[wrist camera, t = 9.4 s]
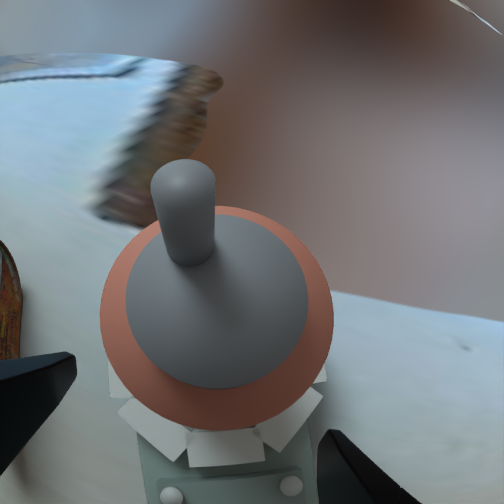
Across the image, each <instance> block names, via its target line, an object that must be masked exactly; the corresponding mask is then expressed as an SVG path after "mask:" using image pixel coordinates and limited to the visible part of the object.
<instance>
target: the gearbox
mask: <svg viewBox="0 0 504 504" xmlns="http://www.w3.org/2000/svg"><path fill="white" fill-rule="evenodd" d="M108 370H109V390H110V398H130V399H129V400H128V401H127V402H126V403H125V404H124V405H123V406H122V407H121V409H120V410H119V411H118V412H117V413H118V414H119V415H120V416H121V417H122V418H123V419H124V420H125V421H126V422H127V423H128V424H129V425H130V426H132V427H133V428H134V429H135V430H136V431H137V437H138V445H139V453H140V460H141V467H142V473H143V480H144V486H145V491H146V497H147V502H148V504H318V500H317V491H316V482H315V473H314V464H313V456H312V448H311V440H310V432H309V424H308V417H309V415H310V414H311V413H312V411H313V410H314V409H315V407H316V406H317V405H318V403H319V402H320V400H321V399H322V398H323V395H321V394H320V393H318V392H317V391H316V390H314V389H313V388H311V387H309V389H308V390H307V391H306V392H305V394H304V395H303V396H302V397H300V398H299V399H298V400H297V401H296V402H295V403H294V404H293V405H292V406H290V407H289V408H287V409H286V410H284V411H283V412H281V413H280V414H278V415H277V416H275V417H272V418H270V419H268V420H266V421H264V422H262V423H259V424H256V425H253V426H249V427H246V428H240V429H234V430H219V431H212V430H203V429H195V428H191V427H187V426H184V425H180V424H177V423H175V422H172V421H170V420H168V419H165V418H163V417H161V416H160V415H158V414H156V413H155V412H153V411H151V410H150V409H148V408H147V407H146V406H145V405H143V404H142V403H141V402H140V401H138V400H137V399H136V398H135V397H134V396H133V395H132V394H131V393H130V392H129V391H128V389H127V388H126V387H125V386H124V385H123V383H122V382H121V380H120V379H119V377H118V376H117V375H116V373H115V371H114V369H113V367H112V365H111V363H110V361H109V359H108ZM325 381H327V377H326V370H325V364H324V365H323V367H322V369H321V371H320V373H319V374H318V376H317V378H316V379H315V381H314V383H319V382H325Z"/></svg>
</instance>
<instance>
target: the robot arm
mask: <svg viewBox="0 0 504 504" xmlns="http://www.w3.org/2000/svg"><path fill="white" fill-rule="evenodd" d="M76 376H77V366H76V358H75V356H74V355H73V354H71V353H68V352H58V353H52V354H45V355H38V356H31V357H24V358H17V359H9V360H1V361H0V475H2V474H3V472H4V471H5V470H6V468H7V467H8V466H9V465H10V463H11V462H12V461H13V460H14V458H15V457H16V456H17V455H18V453H19V452H20V451H21V450H22V448H23V447H24V446H25V445H26V443H27V442H28V441H29V440H30V438H31V437H32V436H33V435H34V434H35V432H36V431H37V430H38V429H39V428H40V426H41V425H42V424H43V423H44V422H45V420H46V419H47V418H48V417H49V416H50V414H51V413H52V412H53V411H54V410H55V408H56V407H57V406H58V405H59V403H60V402H61V400H62V399H63V397H64V396H65V394H66V393H67V391H68V389H69V388H70V386H71V385H72V383H73V382H74V380H75V379H76ZM317 489H318V498H319V504H422V503H420V502H419V501H418V500H416V499H415V498H414V497H413V496H411V495H410V494H409V493H408V492H407V491H406V490H404V489H403V488H400V486H399V485H398V484H397V483H396V482H395V481H394V480H393V479H391V478H390V477H389V476H388V475H387V474H386V473H385V472H384V471H383V470H381V469H380V468H379V467H378V466H377V465H376V464H375V463H374V462H373V461H372V460H371V459H370V458H368V457H367V456H366V455H365V454H364V453H363V452H362V451H361V450H360V449H359V448H358V447H357V446H356V445H355V444H354V443H352V442H351V441H350V440H349V439H348V438H347V437H346V436H345V435H344V434H343V433H342V432H341V431H340V430H335V429H329V430H327V432H326V433H325V435H324V436H323V438H322V439H321V441H320V443H319V445H318V453H317Z"/></svg>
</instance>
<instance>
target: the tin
mask: <svg viewBox="0 0 504 504" xmlns="http://www.w3.org/2000/svg"><path fill="white" fill-rule="evenodd" d="M21 310H22V293H21V284H20V278H19V274H18V270H17V267H16V264H15V262H14V259H13V257H12V255H11V253H10V252H9V250H8V248H7V247H6V246H5V244H4V243H3V242H2V241H1V240H0V361H1V360H9V359H17V358H19V339H20V322H21Z"/></svg>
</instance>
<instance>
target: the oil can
mask: <svg viewBox="0 0 504 504" xmlns="http://www.w3.org/2000/svg"><path fill="white" fill-rule="evenodd" d="M215 187H216V181H215V177H214V174H213V172H212V171H211V170H210V169H209V168H208V167H207V166H206V165H205V164H203V163H201V162H198V161H195V160H189V159H182V160H176V161H172V162H170V163H167V164H166V165H164V166H163V167H161V168H160V169H159V170H158V171H157V172H156V173H155V175H154V176H153V178H152V181H151V193H152V197H153V201H154V205H155V209H156V213H157V217H158V221H156V222H154V223H153V224H151V225H150V226H148V227H147V228H145V229H144V230H142V231H141V232H140V233H139V234H138V235H137V236H135V237H134V238H133V239H132V240H131V241H130V242H129V244H128V245H127V246H126V247H125V248H124V249H123V251H122V252H121V253H120V255H119V256H118V258H117V259H116V261H115V263H114V264H113V266H112V268H111V270H110V272H109V275H108V277H107V280H106V283H105V285H104V289H103V294H102V298H101V307H100V327H101V334H102V339H103V345H104V348H105V351H106V353H107V356H108V359H109V361H110V363H111V365H112V367H113V369H114V371H115V373H116V375H117V376H118V377H119V379H120V380H121V382H122V383H123V385H124V386H125V387H126V388H127V389H128V391H129V392H130V393H131V394H132V395H133V396H134V397H135V398H136V399H137V400H138V401H140V402H141V403H142V404H143V405H145V406H146V407H147V408H148V409H150V410H151V411H153V412H155V413H156V414H158V415H160V416H161V417H163V418H165V419H168V420H170V421H172V422H175V423H177V424H180V425H184V426H187V427H191V428H195V429H203V430H212V431H219V430H234V429H240V428H246V427H249V426H253V425H256V424H259V423H262V422H264V421H266V420H268V419H270V418H272V417H275V416H277V415H278V414H280V413H281V412H283V411H284V410H286V409H287V408H289V407H290V406H292V405H293V404H294V403H295V402H296V401H297V400H298V399H299V398H300V397H302V396H303V395H304V394H305V392H306V391H307V390H308V389H309V387H310V386H311V385H312V384H313V383H314V381H315V379H316V378H317V376H318V374H319V373H320V371H321V369H322V367H323V365H324V363H325V360H326V358H327V356H328V352H329V349H330V345H331V341H332V335H333V327H334V313H333V304H332V297H331V294H330V290H329V287H328V283H327V281H326V278H325V276H324V274H323V271H322V269H321V268H320V266H319V264H318V263H317V261H316V259H315V258H314V256H313V255H312V254H311V252H310V251H309V250H308V249H307V247H306V246H305V245H304V244H303V243H302V242H301V241H300V240H299V239H298V238H297V237H296V236H295V235H293V234H292V233H291V232H290V231H289V230H287V229H286V228H284V227H283V226H281V225H280V224H278V223H277V222H275V221H273V220H271V219H269V218H267V217H265V216H263V215H260V214H257V213H255V212H252V211H249V210H244V209H240V208H235V207H227V206H215V189H216V188H215Z"/></svg>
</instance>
